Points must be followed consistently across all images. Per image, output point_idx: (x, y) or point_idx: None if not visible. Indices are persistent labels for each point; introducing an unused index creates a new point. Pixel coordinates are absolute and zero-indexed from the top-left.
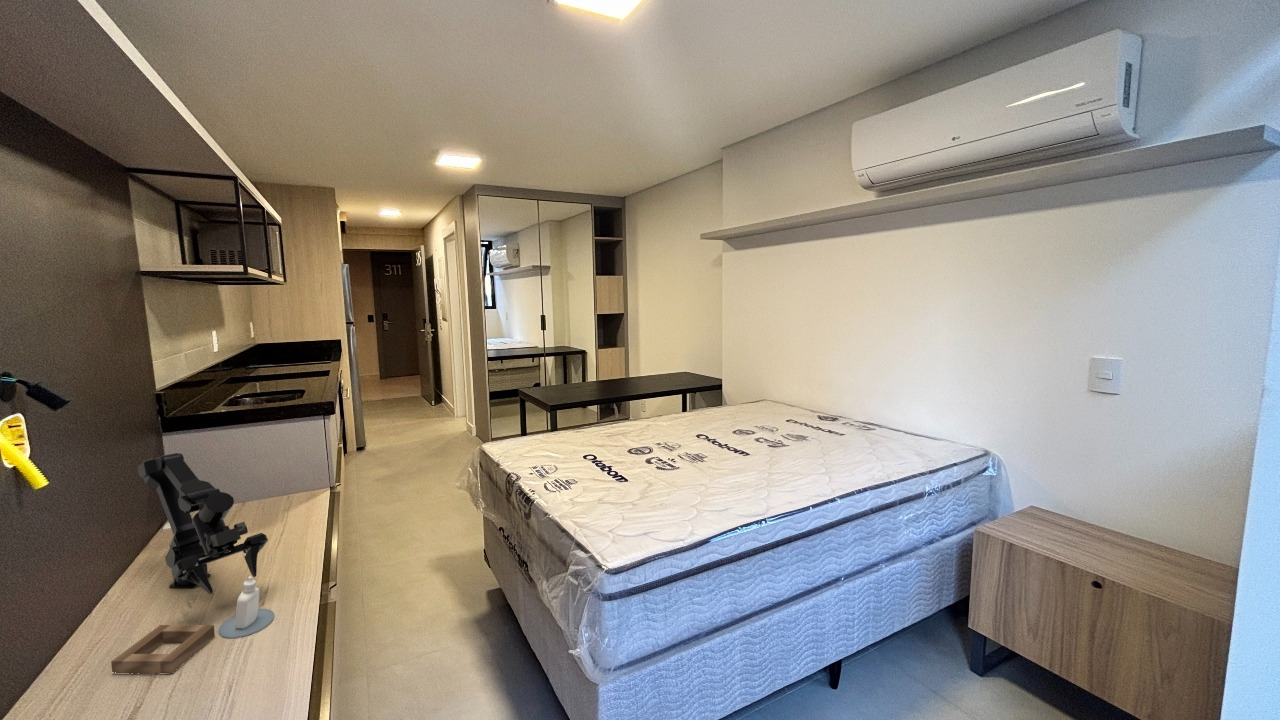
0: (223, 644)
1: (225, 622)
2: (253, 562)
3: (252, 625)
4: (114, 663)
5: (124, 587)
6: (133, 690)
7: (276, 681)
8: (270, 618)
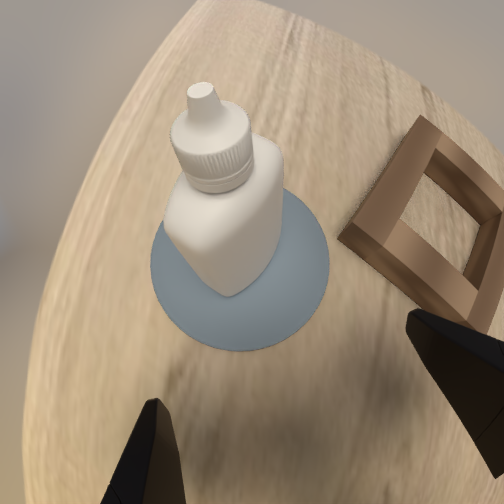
0: (311, 178)
1: (307, 305)
2: (132, 484)
3: None
4: None
5: None
6: (451, 137)
7: (220, 21)
8: None
